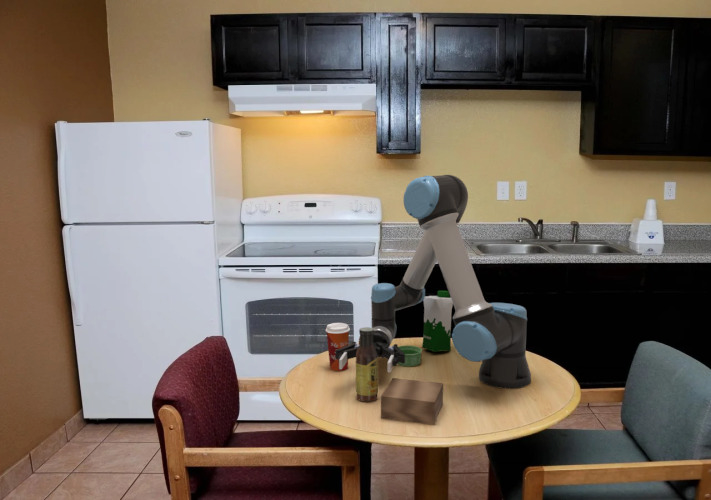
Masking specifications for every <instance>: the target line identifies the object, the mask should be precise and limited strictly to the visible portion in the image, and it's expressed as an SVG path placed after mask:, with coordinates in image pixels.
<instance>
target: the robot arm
mask: <svg viewBox="0 0 711 500" xmlns="http://www.w3.org/2000/svg"><path fill="white" fill-rule="evenodd" d="M468 201H469V192H468V188H467V186H466V184H465V182H464V181H462V180H461V178H459V177H457V176H455V175H451V174H442V175H423V176H420V177H417V178H416V177H415V178H414V179H413V180H411V181H410V182H409V183H408V184H407V186H406V188H405V191H404V193H403V206H404V209H405V211H406V213H407V214H408V215H409V216H410V217H412V218H414V219H416V220H417V223H418V225H419V227H420V229H422V230H423V231H424V232H423V233H422V234H423V235H422V236H421V238H420V241H419V242H418V245H417V247H416V250H415V252H414V254H413V256H412V258H411V260H410V263H409V265H408V267H407V269H406V271H405V273H404V276H403V277H402V280H401V282H400V284H399V285H397V286H395V285H394V284H392V283H388V282H381V283H375V284H373V285H372V287H371V296H370V300H371V328H373V329H374V335H373V342H374V347H375V349H376V352H377V355H378V358H382V359H387V362H386V363H387V365H386V366H387V367H386V368H387V373H391V372H392V369H393V367H397V366H398V365H399V364H398V362H400V363H405V354H404V353H403V352H402V351H401V350H400V349H399V348H398V347H399V345H398V344H396V343H394V344H393V345H391V344H392V342H393V340H394V339H395V337H396V335H397V328H398V327H397V324H396V311H399V310H402V309H406V308H409V307H412V306H416V305H418V304H420V303H422V302H424V301H423V299H424V298H425V296H426V288H425V285H426V283H427V281H428V279H429V277H430V275H431V273H432V272H433V268H434V267H435V265H436V263H438V266H439V268H440V271H441V273H442V277H443V279H444V283H445V285H446V288H447V291H449V297H451V299H452V302H453V307H454V310H455V311H454V314H453V316H452V320H453V323H454V328H453V330H452V333H451V343H452V344H453V347H454V349H455V350H456V352H457V353H458V354H459V355H460V356H461V357H463V358H465V360H467V361H471V362H477V363H478V362H481V364H480V365H479V366H480V367H479V368H478V369H479V370H478V379H479V381H480V382H482V383H483V384H485V385H487V386H491V387H494V388H498V389H512V390H513V389H521V388H524V387H528V386H529V385H530V384H531V382H532V381H531V379H532V373H531V370H530V367H529V363H528V360H527V355H526V354H527V353H526V349H527V348H526V345H527V327H528V326H527V325H528V317H527V309H526V307H524V306H522V305H518V304H513V303H507V302H506V303H505V302H487V301H486V300H485V298H484V295H483V292H482V289H481V286H480V284H479V281H478V278H477V276H476V273H475V271H474V268H473V265H472V262H471V259H470V256H469V255H468V251H467V248H466V245H465V244H464V240H463V238H462V235H461V232H460V230H459V226H458V224H459V223H460V222H461V220H462V218H463V216H464V214H465V211H466V209H467V206H468ZM359 346H360V345H359V344H358V343H357V341H352V342H351V343H349V345H347V346H345V347H342V348H340V349H338V350H336V359H338V362H339V369H342V368H343V367H344V365H345V364H346V362H347V359H348V360H351V359H354V358H356V352H357V349H358V348H359Z"/></svg>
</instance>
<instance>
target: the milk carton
mask: <svg viewBox="0 0 711 500" xmlns="http://www.w3.org/2000/svg"><path fill="white" fill-rule="evenodd" d="M422 302H423V307H424V309H423V312H424V313H423V337H422V338H423V339H422V348H421V349H425V350H428V351H430V352H435V353H436V352H446V351H447V352H448V351H451V350H452V344H451V343H452V332H451V331H452V330H451V329H452V328H451V327H452V309H453V307H454V305H453V302H452V299H451V296H450V293H449V291H448V290H437V295H428V296H426V295H425V298H424V299H423V301H422Z"/></svg>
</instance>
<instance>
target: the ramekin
mask: <svg viewBox="0 0 711 500" xmlns="http://www.w3.org/2000/svg"><path fill="white" fill-rule="evenodd" d="M398 348H399V349H400V350H401V351H402V352H403V353H404V354H405V363H400V362H398V364H397V365H399V366H401V367H415V366H418V365H420V364H421V360H422V359H421V358H422V353H423V348H421V347H419V346H417V345H400V346H399V345H398Z"/></svg>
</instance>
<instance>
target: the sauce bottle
mask: <svg viewBox="0 0 711 500" xmlns="http://www.w3.org/2000/svg"><path fill="white" fill-rule="evenodd" d="M358 333H359V337H360V346H359V348H358V349H357V352H356V357H355V394H356V398H357V400H359V401H361V402H373V401H376V400H377V399H378V395H379V394H378V393H379V357H378V355H377V352H376V349H375V347H374V342H373V335H374V329H373V328H372V327H370V326H369V327H360V328H359V330H358Z"/></svg>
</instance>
